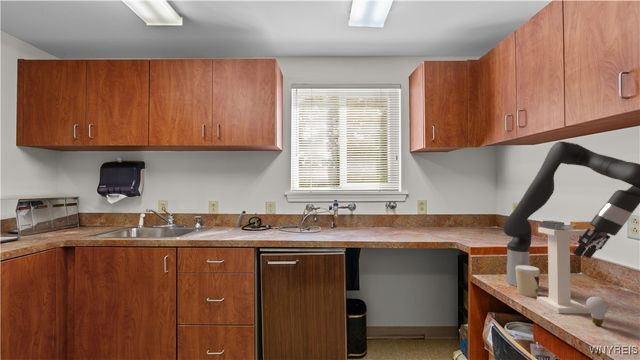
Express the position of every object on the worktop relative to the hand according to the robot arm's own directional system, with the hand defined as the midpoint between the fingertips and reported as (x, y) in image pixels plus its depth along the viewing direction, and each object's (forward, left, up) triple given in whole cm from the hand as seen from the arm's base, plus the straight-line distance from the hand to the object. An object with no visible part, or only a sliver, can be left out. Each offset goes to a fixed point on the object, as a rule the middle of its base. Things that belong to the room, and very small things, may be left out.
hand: (581, 256), depth 110 cm
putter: (-13, +9, +8) cm, 18 cm away
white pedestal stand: (-13, +4, -24) cm, 28 cm away
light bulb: (+2, +3, -24) cm, 25 cm away
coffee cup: (-28, -1, -24) cm, 37 cm away
